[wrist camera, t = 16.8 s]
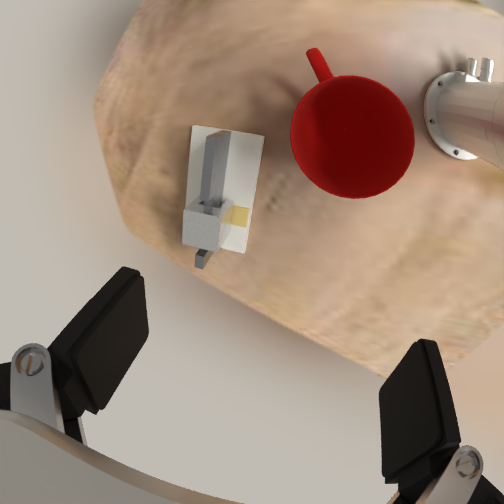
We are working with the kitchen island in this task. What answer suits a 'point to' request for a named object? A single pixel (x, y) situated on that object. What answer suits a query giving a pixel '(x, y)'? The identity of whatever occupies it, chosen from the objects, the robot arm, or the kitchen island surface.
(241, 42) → the kitchen island surface
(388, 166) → the ceramic cup
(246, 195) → the base board
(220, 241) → the clip
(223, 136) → the rail
